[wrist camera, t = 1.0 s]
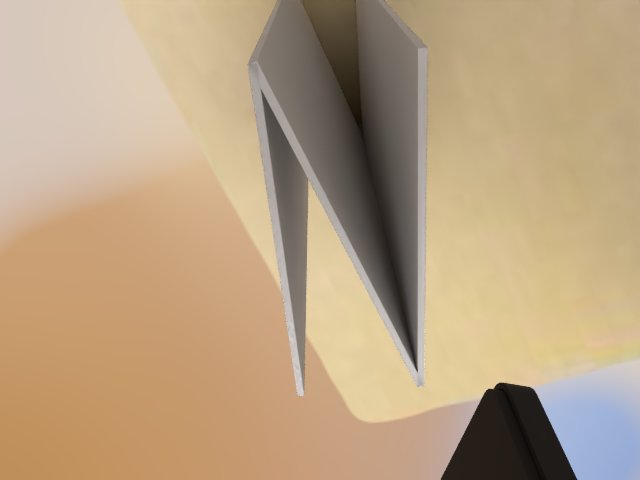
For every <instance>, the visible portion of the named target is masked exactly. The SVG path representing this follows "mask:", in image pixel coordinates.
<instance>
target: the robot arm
mask: <svg viewBox="0 0 640 480" xmlns="http://www.w3.org/2000/svg"><path fill="white" fill-rule="evenodd" d="M441 480H577V478H576V476H575V474H574V472H573V470H572V468H571V466H570V463H569V461H568V459H567V457H566V455H565V453H564V451H563V449H562V447H561V444H560V442H559V440H558V438H557V436H556V434H555V432H554V430H553V428H552V425H551V423H550V421H549V419H548V417H547V415H546V413H545V411H544V408H543V407H542V404H541V402H540V400H539V398H538V396H537V394H536V392H535V391H534V389H532V388H531V387H526V386H520V385H514V384H508V383H499V384H497V385H496V386H495V388H494V389H488V390H486V392H485V393H484V395H483V397H482V399H481V401H480V403H479V405H478V407H477V409H476V411H475V413H474V415H473V417H472V419H471V421H470V423H469V425H468V427H467V429H466V431H465V433H464V435H463V437H462V438H461V441H460V442H459V444H458V446H457V448H456V450H455V452H454V454H453V456H452V458H451V460H450V462H449V464H448V466H447V468H446V470H445V472H444V474H443V476H442V478H441Z"/></svg>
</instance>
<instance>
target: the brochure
mask: <svg viewBox="0 0 640 480" xmlns="http://www.w3.org/2000/svg"><path fill="white" fill-rule="evenodd" d="M356 18H357V37H358V57H359V76H360V95H361V115H362V134H363V136H362V134H361V132H360V130H359V127H358V125H357V123H356V121H355V118H354V116H353V114H352V112H351V110H350V107H349V105H348V103H347V101H346V98H345V96H344V94H343V92H342V90H341V87H340V85H339V83H338V81H337V79H336V76H335V74H334V72H333V70H332V67H331V65H330V63H329V61H328V59H327V56H326V54H325V52H324V50H323V47H322V45H321V43H320V41H319V39H318V36H317V34H316V32H315V30H314V27H313V25H312V23H311V21H310V19H309V16H308V14H307V12H306V10H305V8H304V5H303V3H302V1H301V0H277V2H276V5H275V7H274V9H273V11H272V13H271V15H270V18H269V20H268V22H267V24H266V26H265V28H264V30H263V33H262V35H261V37H260V39H259V41H258V43H257V46H256V48H255V50H254V52H253V54H252V56H251V59H250V61H249V63H248V69H249V76H250V82H251V89H252V96H253V102H254V109H255V116H256V122H257V129H258V136H259V142H260V149H261V156H262V162H263V169H264V176H265V182H266V189H267V195H268V202H269V209H270V215H271V222H272V229H273V235H274V242H275V249H276V255H277V262H278V269H279V275H280V282H281V289H282V295H283V301H284V309H285V315H286V322H287V328H288V335H289V342H290V348H291V355H292V361H293V368H294V374H295V382H296V388H297V395H298V396H303V395H304V378H305V377H304V376H305V325H306V272H307V219H308V179H309V181H310V183H311V185H312V187H313V189H314V191H315V193H316V195H317V197H318V198H319V200H320V202H321V204H322V206H323V208H324V210H325V212H326V214H327V216H328V218H329V219H330V221H331V223H332V225H333V227H334V229H335V231H336V233H337V235H338V237H339V238H340V240H341V242H342V244H343V246H344V248H345V250H346V252H347V254H348V256H349V258H350V259H351V261H352V263H353V265H354V267H355V269H356V271H357V273H358V275H359V277H360V279H361V280H362V282H363V284H364V286H365V288H366V290H367V292H368V294H369V296H370V298H371V300H372V301H373V303H374V305H375V307H376V309H377V311H378V313H379V315H380V317H381V319H382V321H383V322H384V324H385V326H386V328H387V330H388V332H389V334H390V336H391V338H392V340H393V342H394V343H395V345H396V347H397V349H398V351H399V353H400V355H401V357H402V359H403V361H404V363H405V364H406V366H407V368H408V370H409V372H410V374H411V376H412V378H413V380H414V382H415V384H416V385H417V386H418V387H424V374H425V265H426V155H427V47H426V45H425V44H424V43H423V42H422V41H421V40H420V39H419V38H418V37H417V36H416V35H415V34H414V32H413V31H412V30H411V29H410V28H409V27H408V26H407V25H406V24H405V23H404V22H403V20H402V19H401V18H400V17H399V16H398V15H397V14H396V13H395V12H394V11H393V10H392V9H391V7H390V6H389V5H388V4H387V3H386V2H385V1H384V0H356Z"/></svg>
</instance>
